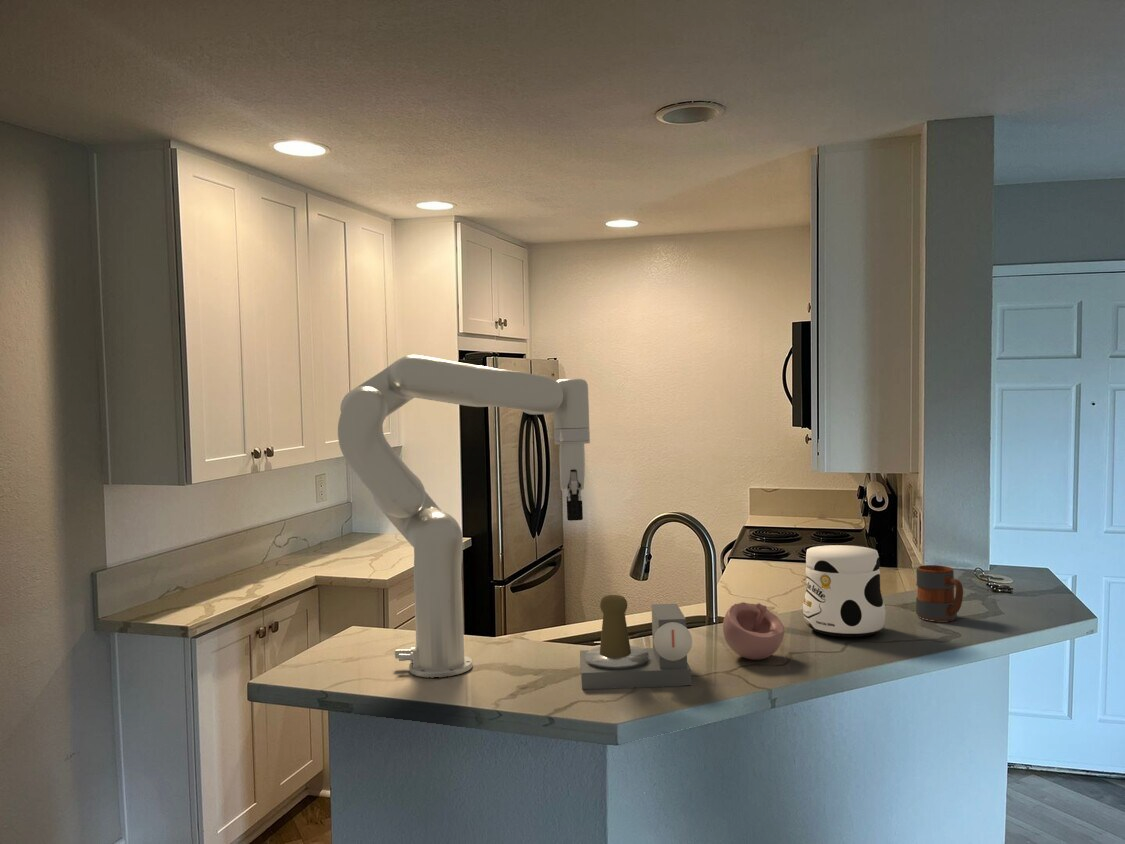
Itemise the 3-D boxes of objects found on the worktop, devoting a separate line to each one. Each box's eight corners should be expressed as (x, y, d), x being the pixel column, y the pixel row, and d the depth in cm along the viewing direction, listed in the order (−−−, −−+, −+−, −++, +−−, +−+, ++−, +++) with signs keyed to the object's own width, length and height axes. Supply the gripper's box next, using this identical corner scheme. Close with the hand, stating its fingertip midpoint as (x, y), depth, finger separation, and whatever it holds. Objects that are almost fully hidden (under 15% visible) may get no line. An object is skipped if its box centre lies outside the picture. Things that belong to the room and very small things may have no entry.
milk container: (787, 631, 182) (785, 551, 182) (833, 617, 193) (831, 541, 192) (856, 647, 168) (854, 561, 168) (901, 631, 179) (899, 550, 179)
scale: (581, 689, 148) (579, 623, 148) (580, 665, 162) (578, 605, 162) (694, 685, 148) (692, 620, 148) (682, 662, 162) (680, 602, 162)
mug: (948, 628, 180) (946, 575, 180) (907, 616, 192) (906, 566, 191) (977, 623, 183) (976, 571, 183) (936, 612, 194) (935, 563, 194)
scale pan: (586, 670, 149) (586, 664, 149) (584, 651, 161) (584, 646, 161) (651, 668, 149) (651, 662, 149) (645, 649, 161) (645, 644, 161)
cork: (605, 659, 153) (603, 600, 152) (595, 650, 158) (593, 594, 158) (635, 655, 154) (633, 597, 154) (625, 646, 160) (623, 591, 160)
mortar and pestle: (755, 671, 155) (753, 611, 155) (711, 657, 165) (709, 601, 165) (797, 659, 162) (796, 602, 162) (753, 646, 172) (751, 592, 172)
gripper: (554, 436, 182) (557, 512, 182) (554, 438, 164) (556, 523, 165) (588, 435, 182) (590, 511, 182) (591, 437, 164) (593, 522, 164)
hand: (574, 517), depth 173 cm, fingers open, 9 cm apart
